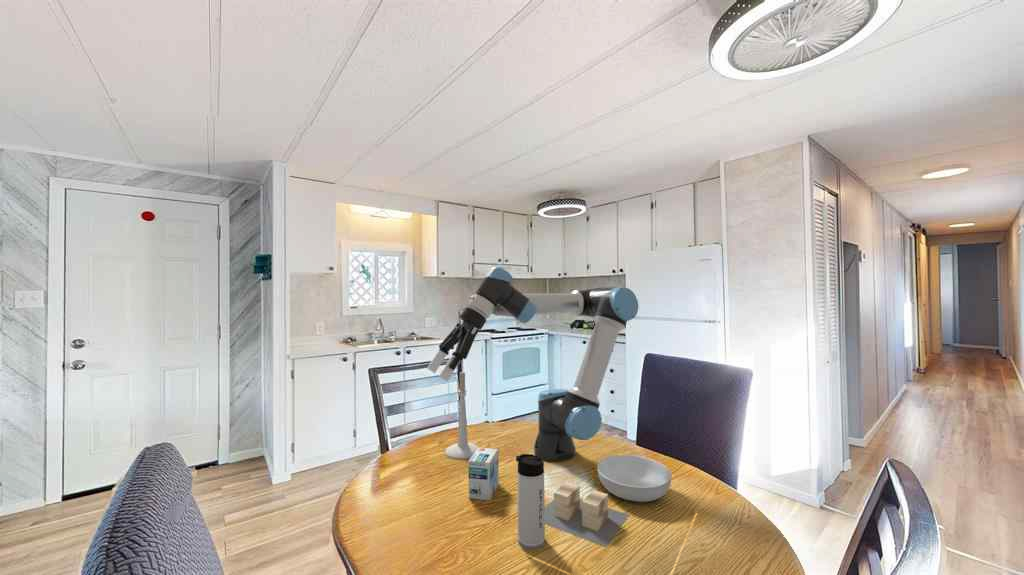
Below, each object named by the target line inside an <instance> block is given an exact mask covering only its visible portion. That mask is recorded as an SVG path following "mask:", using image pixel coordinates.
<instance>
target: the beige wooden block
mask: <svg viewBox="0 0 1024 575" xmlns="http://www.w3.org/2000/svg"><path fill="white" fill-rule="evenodd" d="M580 493H581V492H580V485H578V484H574V483H571V482H568V481H566V482H564V483H563V484H562V485H561V486H559V487H558V489H556V490H555V491H554V492H553V500H554V516H556V517H559V518H562V519H565V520H567V521H568V520H569V519H570V518H571V517H572V516H573V515H574V514H575V513H576V512H577V511H578V510H579V509H580V499H581V498H580Z"/></svg>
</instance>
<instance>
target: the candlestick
mask: <svg viewBox="0 0 1024 575" xmlns="http://www.w3.org/2000/svg"><path fill="white" fill-rule="evenodd" d="M457 392H458V396H459V414H458V415H459V416H458V433H457V434H458V436H457V443H454V444H452V445H450V446H447V448H446V449H445V456H446V457H447V458H450V459H452V460H468V459H470V458H471V457H472V456H473V454H474V453H475V452H476V450H477V449H478V448H480V447H479V446H478V445H477V444H474V443H471V442H469V441H468V440H469V439H468V426H467V412H466V411H467V409H466V395H467V392H468V389H466V372H463V371H460V372H459V389H458V390H457Z"/></svg>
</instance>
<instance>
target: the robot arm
mask: <svg viewBox="0 0 1024 575" xmlns="http://www.w3.org/2000/svg"><path fill="white" fill-rule="evenodd" d="M513 280H514V279H513V275H512V274H510V272H509V271H508V270H506V269H504V268H502V267H499V266H494V267H492V268H491V269H490V270H489V272H488V273H487V274H486V275H485V276H484V279H483V280H482V282H481V283H480V285H479V287H478V288H477V289H476V292H475V293H474V294H473V295H471V296H470V300H469V302H468V304H467V306H465V307H464V309H463V310H462V312H461V313H460V315H459V318H460V319H461V320H462V323H461V324H460V323H459V322H458V323H456V325H455V327H454V328H452V330H451V331H450V332H449V334H447V336H446V337H445V338H444V340H443V341H442V342H440V344H439V345H438V351H437V353H436V354H435V356H433V359H432V360H431V362H430V363H429V364H428V366H427V367H426V368H427V370H429V371H431V372H432V373H434V374H435V373H436V372H437V371H438V369H439V368H440V366H441V365H442V363H443V362H444V360H445V358H446V357H447V356H449V351H450V350H452V348H454V346H456V349H455V351H453V352H452V353H451V357H450V358H449V359H448V361H447V362H446V364H445V366H444V367H443V368H442V370H441V372H440V373H439V375H438V377H439V378H441V379H442V380H444V381H446V382H448V381H450V378H451V377H452V375H453V374H454V372H455V371H456V369H457V368H458V366H459V364H460V363H461V361H463V360H466V359H467V358H468V355H469V353H470V351H471V348H472V346H473V344H474V341H475V338H476V336H477V335H478V333H479V331H481V330H482V329H483V327H484V325H485V324H486V323H487V319H489V318H490V316H491V315H494V316H503V317H512V318H514V319H515V320H516V321H518V322H519V323H521V324H526V323H529V322H530V321H531V320H532V319H533V318H534V316H535V315H555V314H556V315H557V314H559V315H562V314H572V315H574V316H577V317H578V316H582V317H589V318H590V317H591V318H592V319H593V321H594V323H595V324H594V327H593V329H592V333H591V335H590V339H589V341H588V344H587V346H586V350H585V353H584V356H583V359H582V361H581V364H580V367H579V369H578V372H577V375H576V378H575V381H574V384H573V387H572V388H570V389H566V388H553V389H551V388H550V389H545V390H542V391H539V393H538V397H537V398H538V399H537V404H538V405H537V407H538V409H537V410H538V412H537V413H538V433H537V436H536V440H535V442H534V446H533V453H534V454H533V455H536V456H539V457H540V458H542V460H543V461H548V462H565V461H569V460H572V459H573V458H575V456H576V455H577V454H576V446H575V442H574V439H576V440H579V441H587V440H590V439H591V438H594V436H595V435H597V434H598V432H599V430H600V429H601V427H602V418H603V417H602V416H601V415H602V414H601V412H600V410H599V408H600V406H601V402H600V400H599V397H598V396H599V393H600V390H601V388H602V385H603V381H604V378H605V375H606V372H607V369H608V366H609V363H610V360H611V358H612V354H613V351H614V348H615V345H616V342H617V339H618V336H619V332H620V331H623V330H625V328H626V327H627V326H626V325H627V323H628V322H629V321H631V320H633V319H635V318H636V316H637V314H638V312H639V302H638V301H639V300H638V298H637V295H636V293H634V291H633V290H632V289H630V288H628V287H625V286H612V287H595V288H588V289H579V290H573V291H572V292H565V293H564V292H563V293H561V292H560V293H556V292H555V293H553V292H552V293H550V292H548V293H547V292H546V293H545V292H544V293H539V292H538V293H523V292H522V293H521V291H519V290H518V289H517V288H515V286H513V285H512V283H513Z"/></svg>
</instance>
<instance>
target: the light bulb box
mask: <svg viewBox="0 0 1024 575" xmlns="http://www.w3.org/2000/svg"><path fill="white" fill-rule="evenodd" d="M467 463H468V465H467V466H468V499H472V500H473V499H475V500H481V501H491V499H492V498H493V497H494V494H495V492H496V490H497V488H498V486H499V484H500V483H499V482H500V481H499V478H500V477H499V449H497V448H486V447H479V448H478V449H477V450H476V452H475V453H474V454H473V456H472V457H471V458H469V460H468V462H467Z"/></svg>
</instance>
